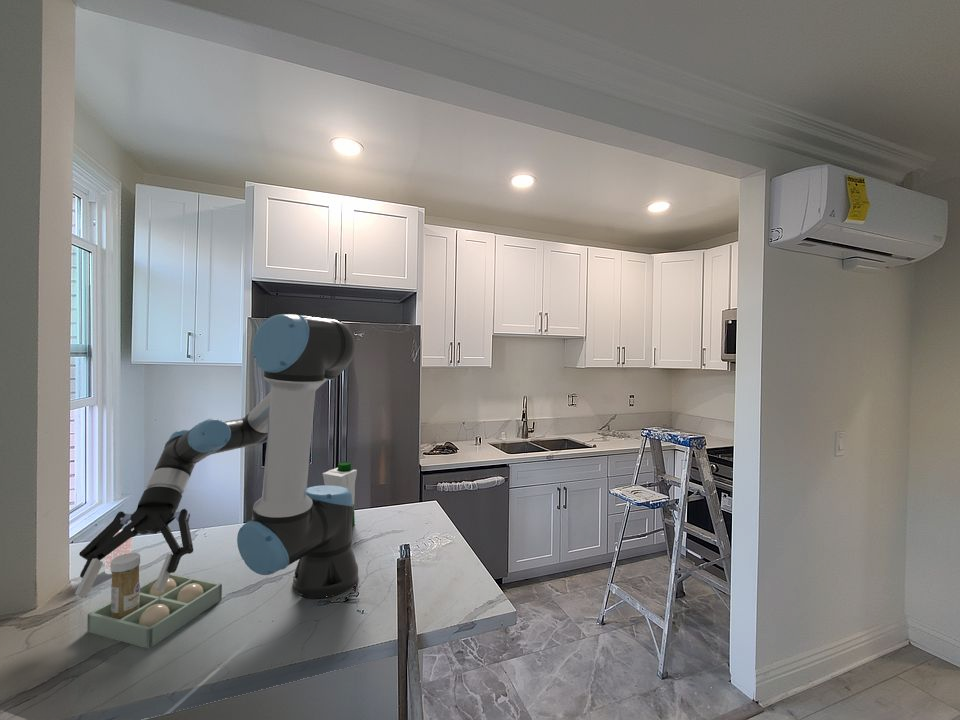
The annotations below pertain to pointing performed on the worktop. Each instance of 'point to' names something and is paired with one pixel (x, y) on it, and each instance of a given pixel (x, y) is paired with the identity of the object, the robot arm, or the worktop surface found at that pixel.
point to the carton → (179, 611)
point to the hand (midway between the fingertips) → (120, 593)
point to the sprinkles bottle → (125, 585)
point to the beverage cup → (117, 553)
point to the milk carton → (342, 479)
